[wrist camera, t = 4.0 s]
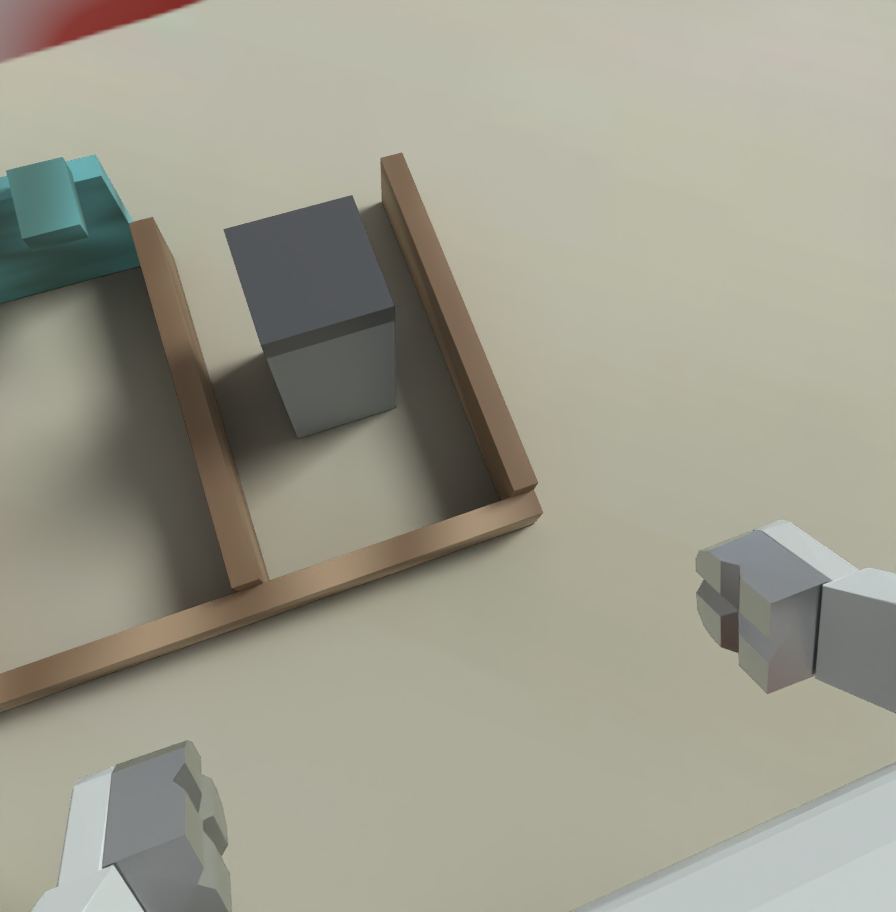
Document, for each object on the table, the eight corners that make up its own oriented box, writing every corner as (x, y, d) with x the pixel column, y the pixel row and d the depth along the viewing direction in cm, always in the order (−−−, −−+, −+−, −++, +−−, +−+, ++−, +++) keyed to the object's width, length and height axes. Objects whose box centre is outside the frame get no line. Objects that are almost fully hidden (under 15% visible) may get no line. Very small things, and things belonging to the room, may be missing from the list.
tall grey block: (364, 321, 34) (352, 194, 25) (395, 407, 32) (394, 305, 24) (269, 349, 33) (223, 229, 24) (298, 438, 32) (261, 345, 23)
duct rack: (394, 178, 36) (394, 66, 30) (534, 523, 31) (569, 479, 25) (-109, 311, 32) (-235, 216, 26) (-37, 725, 28) (-170, 735, 21)
